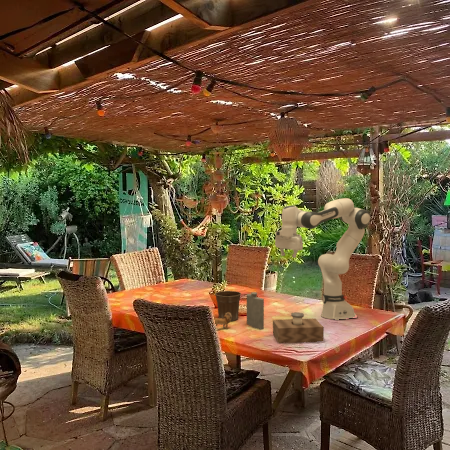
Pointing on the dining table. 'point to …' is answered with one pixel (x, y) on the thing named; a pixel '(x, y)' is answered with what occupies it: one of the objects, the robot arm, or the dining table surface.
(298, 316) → the knob
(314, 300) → the dining table surface
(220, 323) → the lion figurine
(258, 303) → the hip flask
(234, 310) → the plant pot
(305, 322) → the block
